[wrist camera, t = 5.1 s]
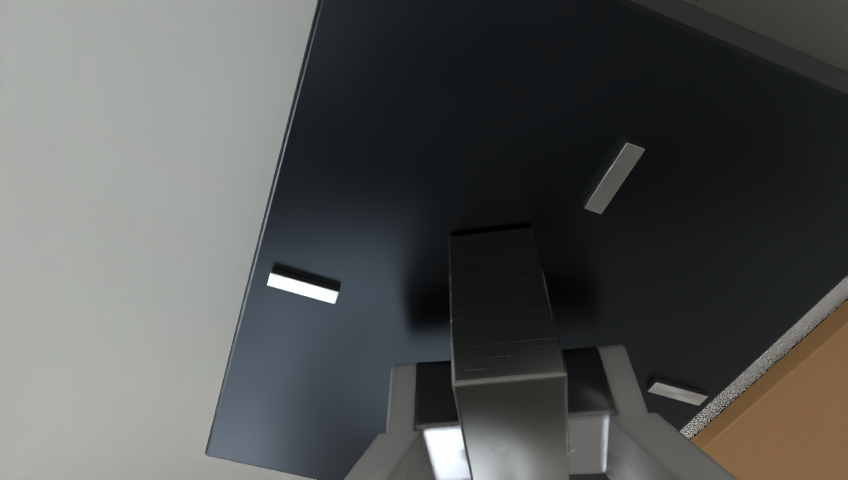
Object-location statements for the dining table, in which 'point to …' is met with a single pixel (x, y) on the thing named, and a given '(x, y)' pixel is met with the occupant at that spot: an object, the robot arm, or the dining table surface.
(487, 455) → the silver red-topped block
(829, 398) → the cork mat
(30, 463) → the dining table surface
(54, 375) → the dining table surface
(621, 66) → the dial panel
